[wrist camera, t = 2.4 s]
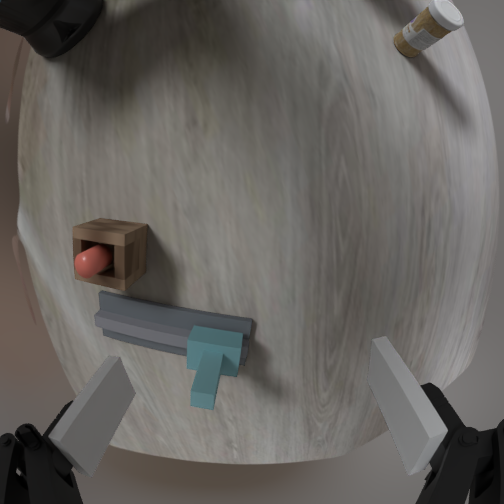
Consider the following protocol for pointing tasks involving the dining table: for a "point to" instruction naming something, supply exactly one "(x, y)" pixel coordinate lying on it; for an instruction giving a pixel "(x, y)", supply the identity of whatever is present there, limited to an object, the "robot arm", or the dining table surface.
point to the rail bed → (162, 323)
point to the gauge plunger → (93, 260)
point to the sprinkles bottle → (428, 27)
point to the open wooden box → (114, 250)
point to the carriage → (211, 361)
